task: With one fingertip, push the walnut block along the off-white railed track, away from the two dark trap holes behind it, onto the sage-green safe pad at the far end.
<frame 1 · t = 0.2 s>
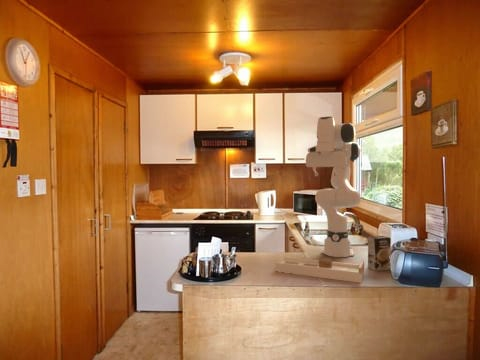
hand: (326, 176, 170), 47 cm above the countertop, tool pointing down, fingers open, 8 cm apart
walnut block: (325, 267, 163), point 3 cm above the countertop, touching trap track
trap track: (319, 273, 164), on the countertop
coffee box: (379, 268, 170), on the countertop
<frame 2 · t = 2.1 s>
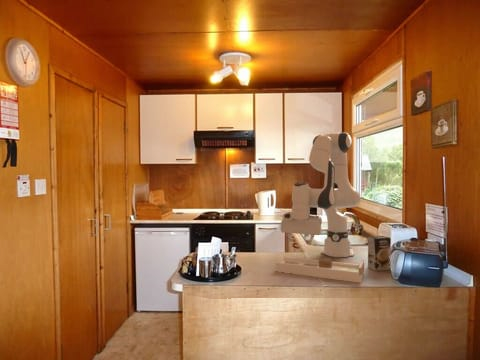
hand: (300, 242, 167), 14 cm above the countertop, tool pointing down, fingers open, 8 cm apart
nothing on the countertop moved.
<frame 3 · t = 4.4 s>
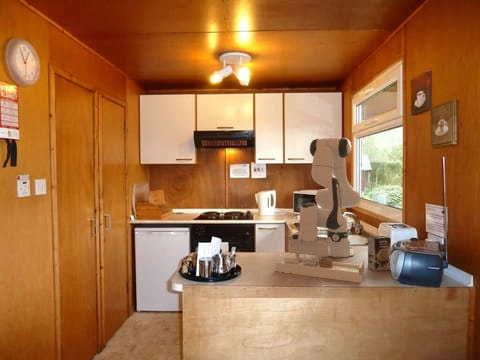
hand: (308, 263, 166), 4 cm above the countertop, tool pointing down, fingers open, 8 cm apart
walnut block: (326, 267, 163), point 3 cm above the countertop, touching gripper
everything else where it was.
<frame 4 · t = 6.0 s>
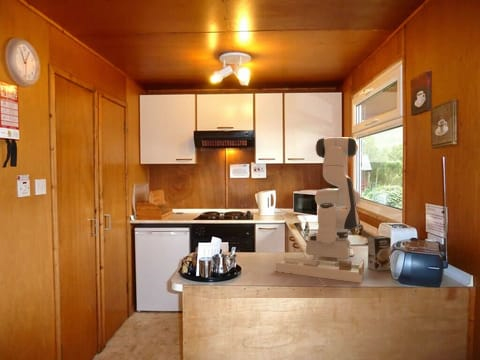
hand: (327, 265, 162), 4 cm above the countertop, tool pointing down, fingers open, 8 cm apart
walnut block: (345, 270, 159), point 3 cm above the countertop, touching gripper, trap track
everything else where it was.
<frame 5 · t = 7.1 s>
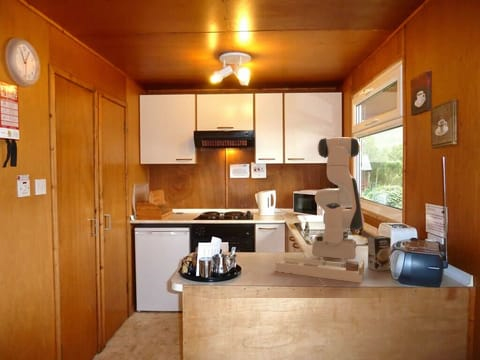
hand: (333, 266, 161), 4 cm above the countertop, tool pointing down, fingers open, 8 cm apart
walnut block: (352, 270, 157), point 3 cm above the countertop, touching gripper, trap track
everything else where it was.
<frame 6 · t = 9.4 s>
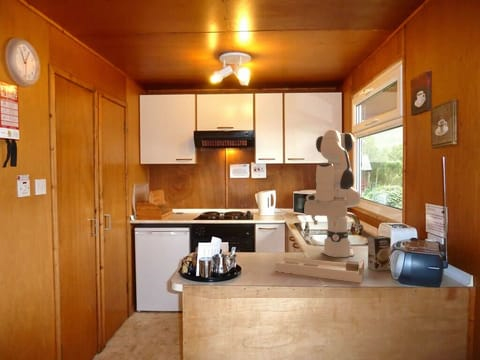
hand: (325, 225, 162), 24 cm above the countertop, tool pointing down, fingers open, 8 cm apart
walnut block: (352, 270, 157), point 3 cm above the countertop, touching trap track
everything else where it was.
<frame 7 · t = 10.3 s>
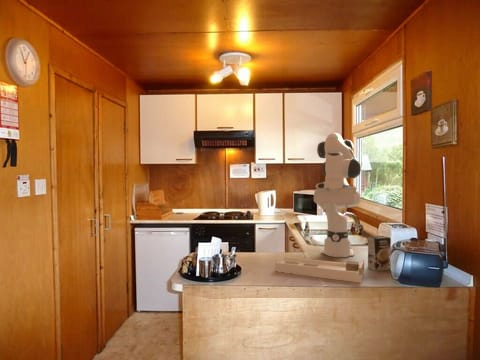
hand: (334, 212, 167), 29 cm above the countertop, tool pointing down, fingers open, 8 cm apart
nothing on the countertop moved.
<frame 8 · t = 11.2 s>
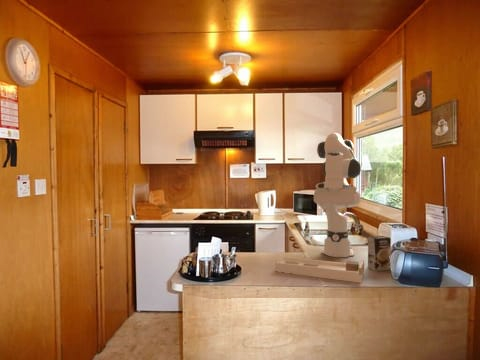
hand: (334, 212, 167), 29 cm above the countertop, tool pointing down, fingers open, 8 cm apart
nothing on the countertop moved.
at the end: walnut block inside the target area on the trap track (0.6 cm from its centre), point 3.0 cm above the trap track's base; walnut block tilted 0°; walnut block point 3.0 cm above the countertop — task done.
